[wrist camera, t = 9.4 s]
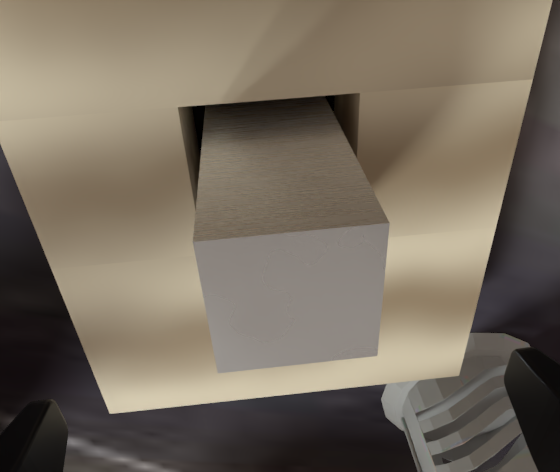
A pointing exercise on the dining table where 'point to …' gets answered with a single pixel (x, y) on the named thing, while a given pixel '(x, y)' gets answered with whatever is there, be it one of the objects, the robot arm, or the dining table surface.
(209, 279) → the steel peg
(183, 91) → the hole block
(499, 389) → the french press
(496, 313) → the dining table surface
